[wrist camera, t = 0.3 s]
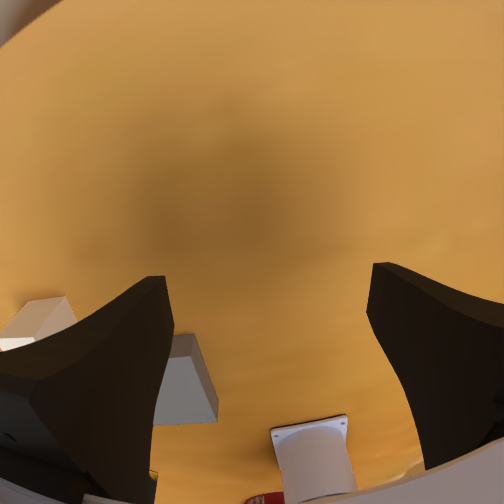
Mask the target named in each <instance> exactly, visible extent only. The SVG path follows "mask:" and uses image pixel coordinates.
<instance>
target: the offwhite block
mask: <svg viewBox="0 0 504 504" xmlns="http://www.w3.org/2000/svg"><path fill="white" fill-rule="evenodd" d="M75 323H77V319H76V317H75V315H74V313H73V311H72V309H71V307H70V304H69V302H68V300H67V298H66V296H62V297H55V298H48V299H41V300H34V301H28V302H27V303H26V304H25V305H24V306H23V307H22V308H21V310H20V311H19V312H18V313H17V314H16V315H15V316H14V317H13V318H12V320H11V321H10V322H9V323H8V324H7V325H6V326H5V328H4V329H3V330H2V331H1V332H0V348H1V349H2V351H6V350H10V349H14V348H17V347H20V346H24V345H27V344H30V343H33V342H35V341H38V340H41V339H43V338H45V337H48V336H50V335H52V334H55V333H57V332H59V331H62V330H64V329H66V328H68V327H70V326H72V325H74V324H75Z"/></svg>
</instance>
